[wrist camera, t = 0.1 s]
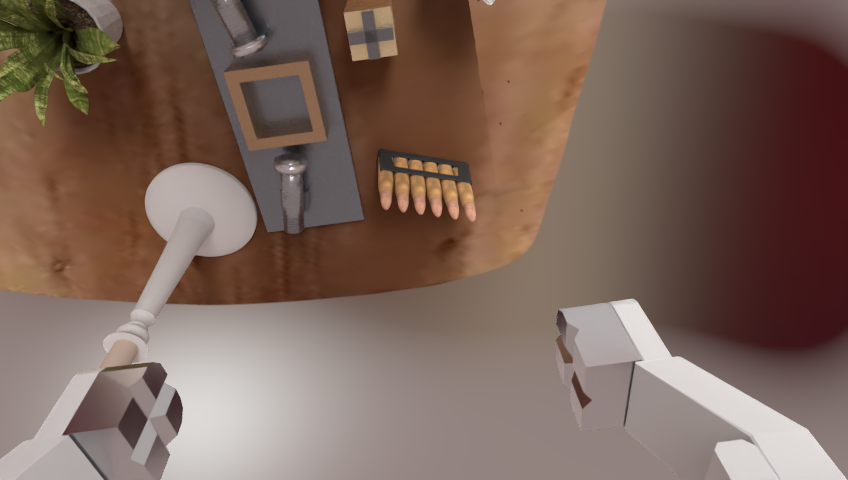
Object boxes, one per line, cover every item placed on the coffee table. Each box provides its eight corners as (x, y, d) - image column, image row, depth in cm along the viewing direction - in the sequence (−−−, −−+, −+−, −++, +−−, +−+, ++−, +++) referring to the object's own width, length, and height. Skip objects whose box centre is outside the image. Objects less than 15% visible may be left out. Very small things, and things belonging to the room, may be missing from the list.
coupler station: (170, -67, 48) (156, -64, 45) (301, -85, 48) (296, -83, 45) (269, 228, 66) (263, 243, 63) (364, 215, 65) (363, 230, 63)
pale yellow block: (349, -6, 51) (342, 14, 43) (389, -11, 51) (390, 8, 43) (356, 36, 54) (352, 63, 46) (395, 31, 54) (397, 57, 46)
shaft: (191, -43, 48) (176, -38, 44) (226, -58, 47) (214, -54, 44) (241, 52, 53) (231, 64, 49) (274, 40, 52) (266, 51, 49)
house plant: (150, -80, 47) (55, -67, 33) (201, 75, 55) (140, 136, 41) (-8, -63, 47) (-168, -43, 33) (65, 90, 55) (-42, 156, 41)
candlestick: (246, 264, 68) (167, 480, 44) (142, 238, 65) (-8, 454, 40) (267, 181, 62) (188, 379, 37) (152, 148, 59) (-18, 338, 34)
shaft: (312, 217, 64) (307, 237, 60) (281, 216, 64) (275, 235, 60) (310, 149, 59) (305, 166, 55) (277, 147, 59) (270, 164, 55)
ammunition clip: (376, 163, 62) (375, 216, 52) (378, 148, 61) (377, 199, 51) (464, 176, 63) (479, 230, 53) (468, 162, 62) (484, 215, 52)
